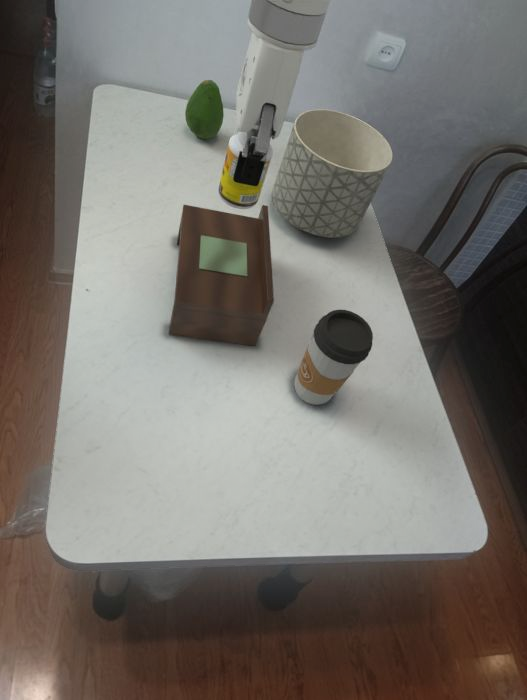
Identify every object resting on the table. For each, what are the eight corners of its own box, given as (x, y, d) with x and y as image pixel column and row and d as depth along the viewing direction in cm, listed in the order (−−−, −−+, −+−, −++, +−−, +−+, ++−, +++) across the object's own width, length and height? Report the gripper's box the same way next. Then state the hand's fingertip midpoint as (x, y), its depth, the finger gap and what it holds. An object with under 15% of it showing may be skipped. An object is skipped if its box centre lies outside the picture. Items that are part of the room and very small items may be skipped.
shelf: (168, 334, 84) (177, 286, 75) (177, 239, 97) (186, 189, 89) (255, 346, 87) (274, 301, 78) (252, 252, 100) (268, 205, 92)
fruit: (191, 147, 115) (200, 94, 106) (176, 125, 119) (184, 72, 110) (224, 145, 119) (236, 93, 110) (209, 124, 122) (219, 72, 113)
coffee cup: (280, 369, 85) (310, 308, 74) (326, 364, 88) (362, 304, 77) (297, 415, 81) (332, 357, 69) (345, 408, 84) (386, 351, 73)
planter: (320, 181, 120) (351, 105, 106) (372, 238, 112) (412, 164, 99) (250, 194, 111) (274, 112, 97) (301, 257, 103) (335, 178, 89)
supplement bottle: (228, 179, 74) (245, 110, 67) (263, 197, 74) (285, 130, 66) (209, 198, 71) (225, 127, 63) (246, 217, 70) (267, 148, 63)
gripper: (249, -25, 59) (217, 124, 73) (251, 45, 49) (214, 204, 63) (313, -6, 61) (270, 137, 75) (329, 66, 51) (276, 216, 64)
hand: (245, 166), depth 69 cm, fingers closed on supplement bottle, 5 cm apart
